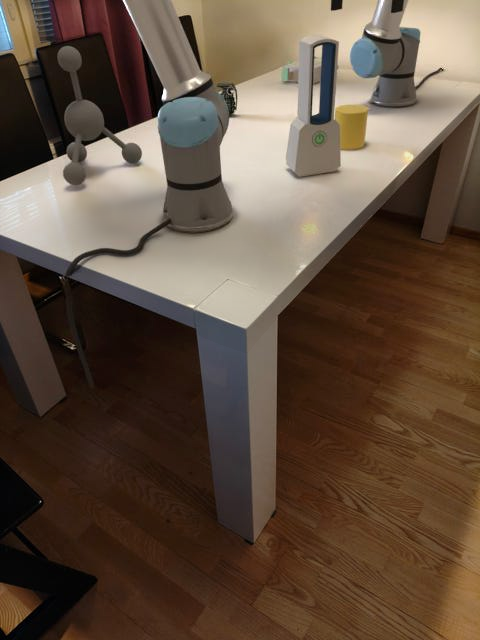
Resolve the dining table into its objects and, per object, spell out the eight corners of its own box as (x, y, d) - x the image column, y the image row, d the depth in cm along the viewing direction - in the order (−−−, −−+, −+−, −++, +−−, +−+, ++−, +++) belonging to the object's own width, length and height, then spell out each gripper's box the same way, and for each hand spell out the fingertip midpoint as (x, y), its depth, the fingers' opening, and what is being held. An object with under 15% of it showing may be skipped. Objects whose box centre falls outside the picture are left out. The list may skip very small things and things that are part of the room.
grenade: (217, 117, 168) (214, 86, 162) (221, 112, 172) (219, 82, 166) (235, 117, 166) (233, 86, 160) (239, 113, 171) (238, 82, 165)
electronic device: (294, 177, 122) (297, 41, 104) (284, 167, 128) (285, 37, 109) (340, 170, 124) (351, 36, 106) (328, 161, 130) (337, 32, 112)
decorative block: (304, 54, 217) (345, 57, 207) (303, 70, 221) (343, 73, 211) (272, 65, 201) (315, 69, 191) (272, 82, 205) (314, 86, 195)
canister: (369, 142, 140) (373, 107, 134) (354, 151, 135) (358, 115, 129) (342, 137, 145) (345, 103, 139) (327, 146, 140) (329, 110, 134)
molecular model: (153, 175, 128) (132, 46, 109) (67, 191, 122) (30, 58, 104) (135, 149, 145) (114, 34, 127) (59, 162, 140) (26, 43, 121)
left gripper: (462, -155, 74) (436, 10, 87) (331, -131, 89) (325, 6, 102) (436, -157, 70) (413, 15, 83) (304, -132, 85) (302, 11, 98)
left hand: (365, 11), depth 92 cm, fingers open, 13 cm apart
